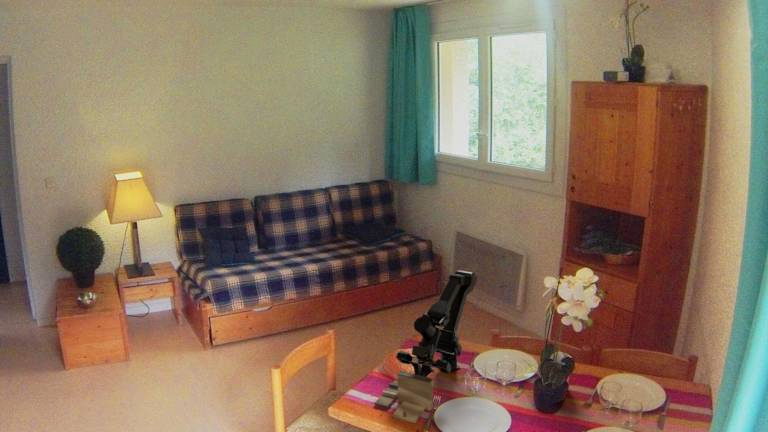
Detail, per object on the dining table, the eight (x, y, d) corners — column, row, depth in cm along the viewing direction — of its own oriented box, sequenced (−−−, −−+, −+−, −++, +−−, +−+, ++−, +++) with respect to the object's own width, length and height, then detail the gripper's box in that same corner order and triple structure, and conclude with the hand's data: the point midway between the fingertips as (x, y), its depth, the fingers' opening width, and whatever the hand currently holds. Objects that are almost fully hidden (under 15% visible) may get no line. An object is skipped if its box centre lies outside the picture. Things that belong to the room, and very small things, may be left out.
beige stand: (400, 399, 210) (400, 370, 207) (432, 408, 205) (432, 378, 202) (387, 415, 201) (386, 385, 198) (420, 424, 196) (420, 394, 193)
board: (394, 383, 221) (394, 377, 220) (407, 386, 219) (407, 380, 218) (374, 405, 207) (374, 400, 206) (387, 409, 205) (387, 403, 204)
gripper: (397, 329, 211) (384, 373, 204) (448, 339, 202) (436, 385, 196) (407, 340, 219) (394, 382, 213) (456, 350, 211) (444, 394, 205)
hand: (416, 386), depth 206 cm, fingers closed
